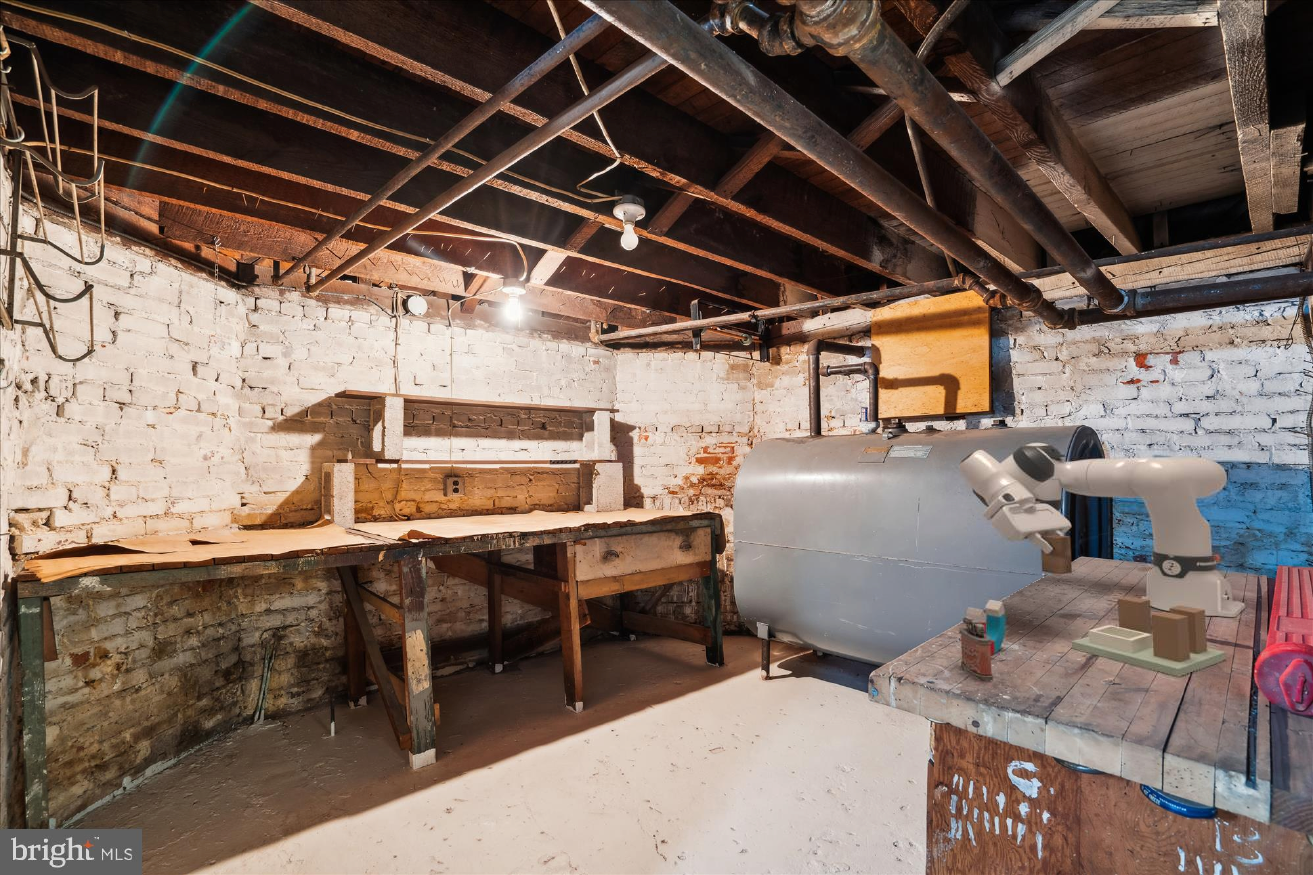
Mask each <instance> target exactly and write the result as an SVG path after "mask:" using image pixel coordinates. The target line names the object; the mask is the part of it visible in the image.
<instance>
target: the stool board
mask: <svg viewBox="0 0 1313 875" xmlns="http://www.w3.org/2000/svg"><path fill="white" fill-rule="evenodd" d="M1117 610H1118V611H1117V612H1118V626H1116V625H1112V624H1111V625H1110V624H1107V625H1103V626H1099V627H1096V628H1092V629H1090V630H1088V636H1087V637H1083V638H1082V637H1081V638H1079V639H1076V640H1072V641H1071V649H1072V650H1076V651H1080V652H1084V653H1088V654H1092V655H1096V656H1099V657H1103V658H1107V659H1109V660H1113V661H1117V662H1120V663H1124V664H1128V665H1132V666H1136V667H1139V668H1143V669H1147V670H1150V669H1152V670H1151V671H1154V670H1156V671H1155V672H1158V671H1160V672H1159V673H1161V672H1164V673H1163V674H1165V673H1168V674H1167V675H1169V674H1170V675H1169V676H1173V675H1175V676H1174V677H1176V676H1178V678H1181V677H1183V676H1182V675H1184V676H1186V675H1188V674H1187V673H1189V674H1191V673H1190V672H1192V673H1194V672H1197V671H1199V669H1200V670H1202V669H1205V668H1208V667H1211V666H1213V665H1215V664H1218V663H1221V662H1223V660H1224V661H1226V660H1227V657H1226V656H1227V655H1226V651H1223V650H1218V649H1214V648H1209V647H1208V643H1207V641H1208V640H1207V624H1206V615H1205V610H1203V609H1197V608H1191V607H1186V606H1180V605H1179V606H1175V607H1172V608H1169V611H1167V612H1166V611H1159V612H1155V613H1152V612H1151V606H1150V600H1146V599H1141V597H1140V598H1139V597H1136V596H1135V597H1133V596H1128V595H1127V596H1123V597H1119V598H1118V597H1117ZM1196 670H1197V671H1196ZM1193 671H1194V672H1193ZM1185 674H1186V675H1185ZM1180 676H1181V677H1180Z"/></svg>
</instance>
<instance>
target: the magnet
mask: <svg viewBox="0 0 1313 875" xmlns="http://www.w3.org/2000/svg"><path fill="white" fill-rule="evenodd" d="M984 610H985V612H984V611H983V610H982V609H979V608H974V607H970V606H969V607H967V609H966V611H967V612H966V616H968V617H970V618H972V619H974V620H979V621H980V622H981V624H982V625H984V629H985V632H984V634H986V635H987V636H989V637H990V638H991V644H990V654H991V655H995V654H997V652H999V651H1000V649H1001V647H1002V644H1003V643H1004V639H1005V632H1006V624H1007V623H1006V621H1007V620H1006V610H1005V607H1004V602H1003V601H999V600H994V599H989V600H988V601H987V603H986V605H985V607H984ZM967 626H968V625H966V624H965V627H967Z"/></svg>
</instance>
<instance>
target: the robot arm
mask: <svg viewBox="0 0 1313 875" xmlns="http://www.w3.org/2000/svg"><path fill="white" fill-rule="evenodd" d="M1065 457H1067V456H1066V454H1062V453H1061V451H1060V450H1059V449H1058V448H1056V447H1055V446H1053V445H1051V444H1048V443H1042V442H1031V443H1027V444H1025V445H1021V446H1019V447H1018V448H1017V449H1015V451H1014V452H1013V453H1012V454H1010V455H1009V456H1008V457H1006V458H1005V459H1004V460H1003V461H1001V462H999V461H998V460H997V459H996V458H994V457H993V456H992V455H990V454H989V453H988V452H986V451H985V450H983V449H978V450H974V451H973V452H970V453H969V454H968V455H966V456H965V457H964V458H963V459H961V462H960V463H959V464H958V471H959V472H960V474H961V476H962V477H963V478H964V480H965V481H966V482H967V484H969V486H970V487H971V489H972V493H973V494H974V495H975V496H976V497H977V499H979V500H980V502H981V503H982V504H983V505H984V506H986V509H985V510H984V511H983V512H982V516H983V517H984V518H985V519H986V520H987V521H990V523H991V525H992V526H993V527H994V528H995V529H996V530H997V532H999V533H1000V534H1001V536H1003V537H1004V538H1005V539H1007V541H1010V542H1011V543H1012V542H1013V543H1014V542H1020V541H1021V542H1022V541H1027V540H1028V541H1029V542H1030V543H1031V544H1032V545H1034V546H1036V547H1038V548H1039V549H1040V550H1041V549H1042V550H1043V551H1044V552H1045V553H1046V554H1047V553H1052V552H1053V551H1054V550H1055V547H1054V546H1053V545H1052V544H1051V543H1048V542H1046V541H1045V540H1043V539H1042V538H1041V536H1044V535H1060V536H1064V535H1065V533H1067V532H1068V531H1069V530H1070V529H1071V528H1072V524H1071V522H1070V520H1068V519H1067V518H1066V517H1065V516H1064V515H1063V514H1062V513H1061V512H1059V511H1060V510H1061V509H1062V505H1063V499H1062V490H1064V491H1066V492H1069V493H1072V494H1076V495H1083V496H1086V497H1099V498H1123V499H1124V498H1128V499H1130V498H1131V499H1134V498H1137V499H1139V498H1140V499H1141V500H1142V501H1143V503H1144V505H1145V507H1146V510H1147V511H1148V515H1149V518H1150V522H1151V528H1152V530H1151V531H1152V539H1153V540H1152V543H1153V550H1152V551H1151V564H1152V565H1153V567H1152V568H1151V569H1149V570H1148V571H1147V572H1146V573H1147V574H1146V595H1145V596H1141V597H1140V598H1141V599H1146V600H1150V607H1153V608H1155V609H1158V610H1161V611H1162V610H1163V611H1165V612H1166V611H1167V612H1170V611H1169V608H1172V607H1175V606H1179V605H1180V606H1186V607H1191V608H1197V609H1203V610H1205V616H1206V617H1207V616H1210V617H1212V616H1213V617H1215V616H1217V617H1224V618H1225V617H1227V618H1236V617H1237V616H1238V615H1239V614H1240V613H1241V612H1242V611H1243V610H1244V609H1245V608H1246V605H1245V604H1246V603H1244V602H1241V601H1238V600H1235V599H1233V593H1232V592H1233V591H1232V585H1231V583H1230V582H1229V581H1227V579H1226V578H1225V577H1224V576H1223V575H1222V574H1221V573H1220V572H1219V571H1218V570H1217V569H1218V565H1217V564H1218V563H1219V562H1220V559H1221V558H1220V555H1219V554H1213V551H1212V533H1211V524H1210V523H1209V521H1208V520H1207V519H1205V518H1204V516H1203V515H1202V514H1201V512H1200V510H1199V507H1198V505H1197V501H1196V499H1204V498H1206V497H1209V496H1212V495H1214V494H1217V493H1219V492H1220V491H1221V490H1222V489H1223V488H1224V487H1225V486H1226V484H1227V481H1228V477H1227V472H1226V470H1225V469H1224V467H1223V466H1222V465H1221V464H1219V463H1218V462H1217V461H1214V460H1211V459H1208V458H1204V457H1200V456H1199V457H1198V456H1164V457H1163V456H1162V457H1161V456H1160V457H1125V458H1124V457H1119V458H1117V457H1115V458H1090V459H1089V458H1087V459H1080V460H1074V461H1065V460H1063V459H1062V458H1065Z"/></svg>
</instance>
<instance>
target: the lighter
mask: <svg viewBox="0 0 1313 875" xmlns="http://www.w3.org/2000/svg"><path fill="white" fill-rule="evenodd" d="M962 623H963V624H964V625H965V626H963V627H962V626H961V627H959V633H960V644H961V662H960V667H961V668H962V670H963V669H964V672H965V673H967V674H968V673H969V674H968V675H970V676H971V675H972V678H975V677H976V679H977V678H978V679H977V680H979V679H981V680H980V681H982V680H985V681H984V682H992V681H994V677H993V674H992V657H991V654H990V644H991V638H990V637H989V636H987V635H986V634H984V632H985V629H984V625H982V624H981V622H980V621H979V620H974V619H972V618H970V617H968V616H967V615H966V616H963V617H962ZM966 625H968V626H967V627H966ZM991 680H992V681H991Z"/></svg>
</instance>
